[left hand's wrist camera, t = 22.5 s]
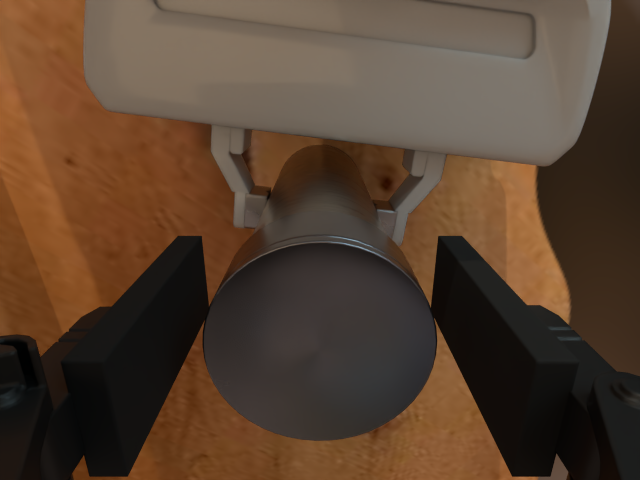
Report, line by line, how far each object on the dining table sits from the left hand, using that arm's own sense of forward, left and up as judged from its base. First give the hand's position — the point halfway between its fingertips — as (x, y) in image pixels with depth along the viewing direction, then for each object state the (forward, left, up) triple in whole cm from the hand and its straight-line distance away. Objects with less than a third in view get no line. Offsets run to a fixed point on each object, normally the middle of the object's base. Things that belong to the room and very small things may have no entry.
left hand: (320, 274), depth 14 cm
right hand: (-1, 0, -7) cm, 7 cm away
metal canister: (0, 0, +4) cm, 4 cm away
